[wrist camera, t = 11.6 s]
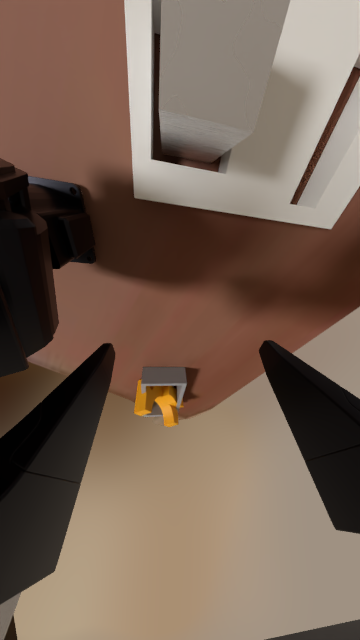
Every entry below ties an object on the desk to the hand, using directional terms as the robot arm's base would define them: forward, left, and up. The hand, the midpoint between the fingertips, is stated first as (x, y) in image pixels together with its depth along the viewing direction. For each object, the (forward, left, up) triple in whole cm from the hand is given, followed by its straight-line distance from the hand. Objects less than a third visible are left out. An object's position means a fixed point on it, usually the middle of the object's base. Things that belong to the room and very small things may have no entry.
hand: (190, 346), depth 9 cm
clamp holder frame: (0, -29, -12) cm, 31 cm away
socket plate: (+5, +11, -12) cm, 17 cm away
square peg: (0, +11, -12) cm, 16 cm away
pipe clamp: (0, -29, -12) cm, 31 cm away
